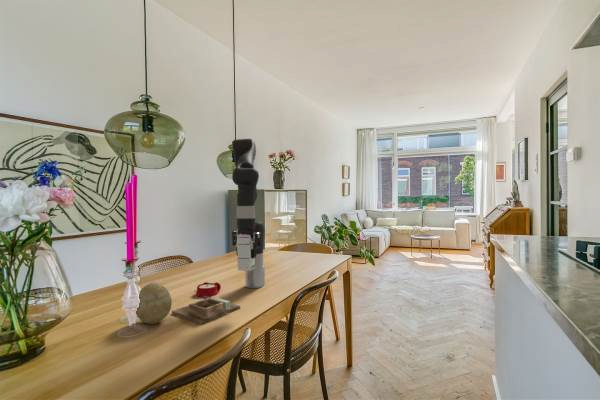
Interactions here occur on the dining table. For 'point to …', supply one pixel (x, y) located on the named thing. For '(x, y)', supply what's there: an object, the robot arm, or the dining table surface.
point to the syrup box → (244, 253)
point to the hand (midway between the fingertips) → (246, 257)
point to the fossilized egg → (153, 303)
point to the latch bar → (227, 303)
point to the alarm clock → (207, 289)
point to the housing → (204, 310)
